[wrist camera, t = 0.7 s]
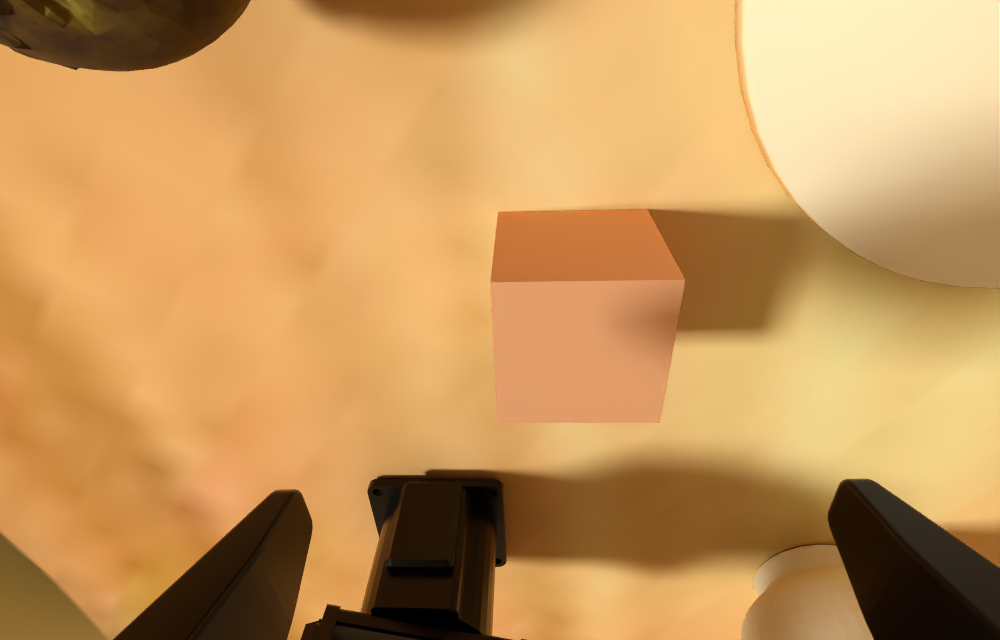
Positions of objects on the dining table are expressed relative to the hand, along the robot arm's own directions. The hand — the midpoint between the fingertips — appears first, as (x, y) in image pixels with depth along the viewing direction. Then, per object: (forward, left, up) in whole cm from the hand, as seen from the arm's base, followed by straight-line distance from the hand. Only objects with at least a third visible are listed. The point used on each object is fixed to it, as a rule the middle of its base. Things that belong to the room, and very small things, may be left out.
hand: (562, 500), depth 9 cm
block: (-2, -1, -11) cm, 11 cm away
